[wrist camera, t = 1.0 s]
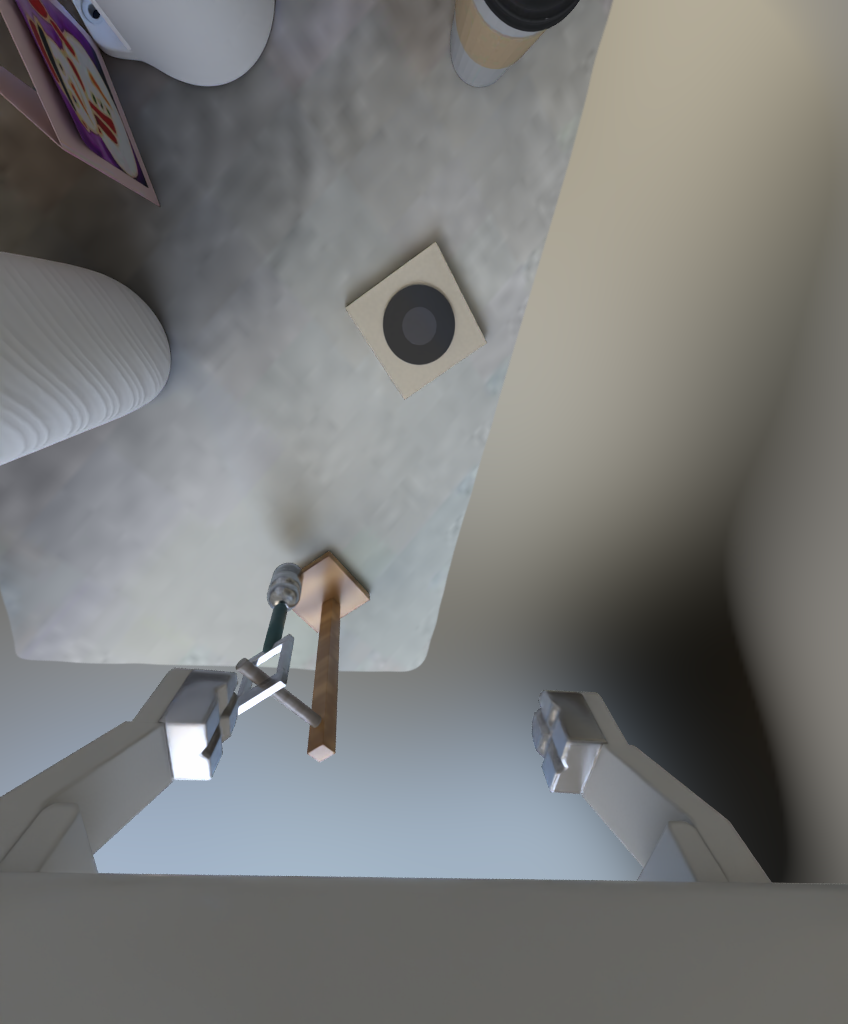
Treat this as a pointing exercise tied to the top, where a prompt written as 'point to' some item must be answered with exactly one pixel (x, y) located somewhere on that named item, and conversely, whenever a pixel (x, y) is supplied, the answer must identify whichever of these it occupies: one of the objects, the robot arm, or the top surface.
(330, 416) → the top surface
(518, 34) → the coffee cup
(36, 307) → the vase
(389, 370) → the hot plate
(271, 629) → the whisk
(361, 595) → the hook stand
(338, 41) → the top surface
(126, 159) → the greeting card
